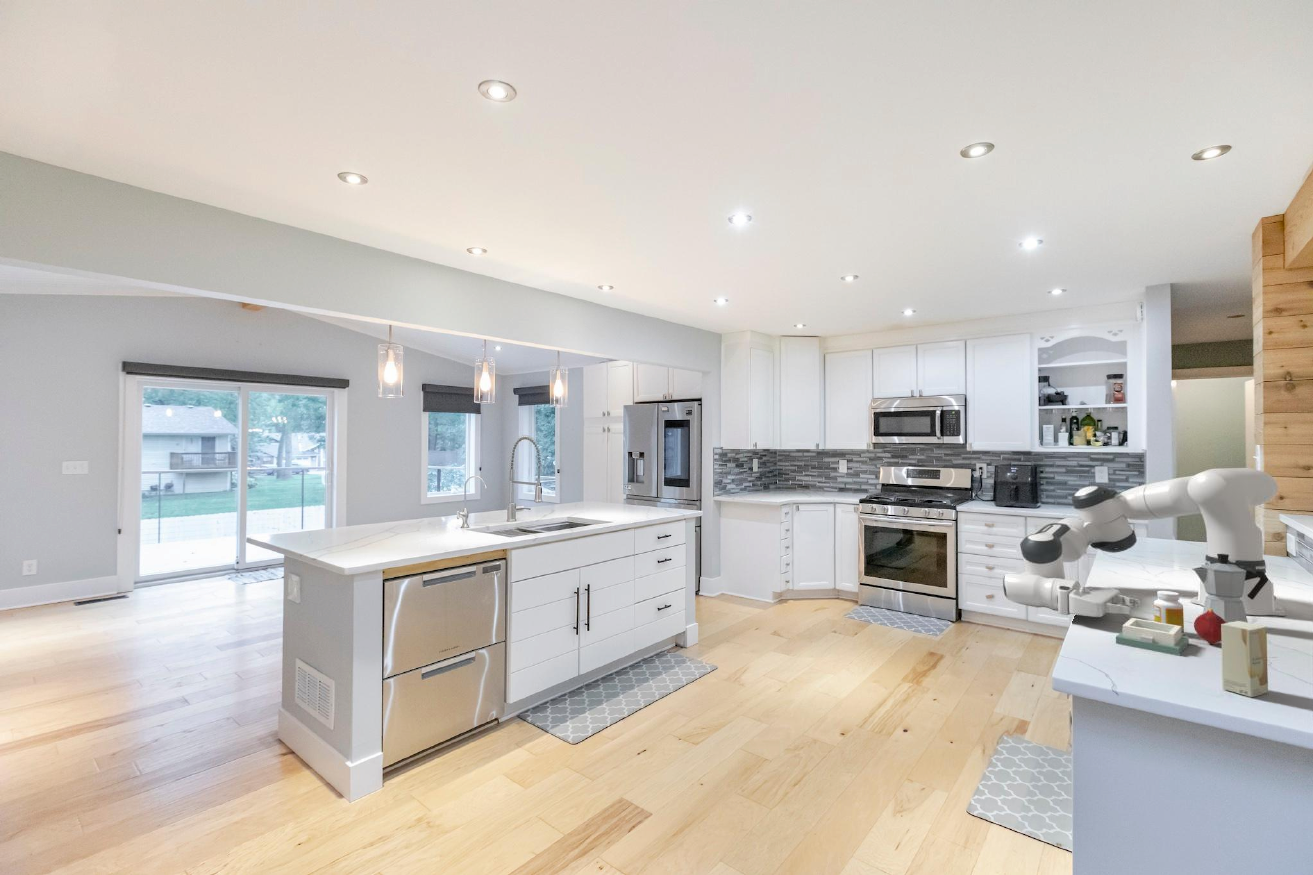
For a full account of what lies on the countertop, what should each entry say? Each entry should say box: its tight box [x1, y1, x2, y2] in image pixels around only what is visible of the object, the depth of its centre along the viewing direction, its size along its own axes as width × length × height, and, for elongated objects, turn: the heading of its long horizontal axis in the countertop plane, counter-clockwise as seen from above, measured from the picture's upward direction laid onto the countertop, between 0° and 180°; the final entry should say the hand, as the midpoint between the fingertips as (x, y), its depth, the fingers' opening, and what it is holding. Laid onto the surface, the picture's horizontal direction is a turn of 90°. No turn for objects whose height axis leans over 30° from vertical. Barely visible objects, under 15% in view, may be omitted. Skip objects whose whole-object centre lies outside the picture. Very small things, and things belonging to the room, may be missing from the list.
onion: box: [1193, 608, 1226, 645], centre depth 135 cm, size 6×6×8 cm
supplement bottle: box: [1153, 590, 1185, 636], centre depth 143 cm, size 5×5×10 cm
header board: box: [1115, 617, 1190, 656], centre depth 136 cm, size 12×11×4 cm
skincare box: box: [1221, 621, 1269, 698], centre depth 109 cm, size 6×4×12 cm
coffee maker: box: [1191, 554, 1270, 623], centre depth 148 cm, size 15×9×18 cm, turn 68°
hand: (1134, 606), depth 148 cm, fingers open, 8 cm apart
